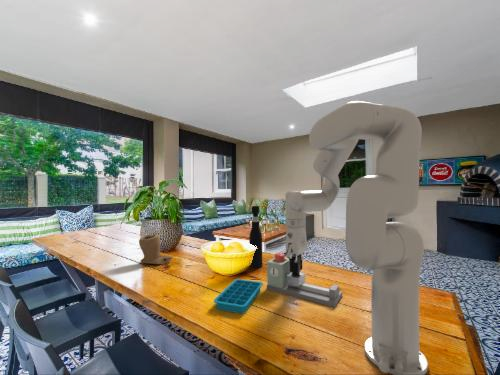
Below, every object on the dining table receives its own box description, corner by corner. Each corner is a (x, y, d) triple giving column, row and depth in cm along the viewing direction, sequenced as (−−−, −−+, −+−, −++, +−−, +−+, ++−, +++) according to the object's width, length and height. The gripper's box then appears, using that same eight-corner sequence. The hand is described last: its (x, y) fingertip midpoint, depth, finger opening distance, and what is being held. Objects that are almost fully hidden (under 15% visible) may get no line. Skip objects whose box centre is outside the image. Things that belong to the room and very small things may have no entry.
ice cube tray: (263, 290, 95) (263, 282, 95) (245, 316, 76) (245, 307, 76) (236, 286, 99) (236, 278, 98) (212, 310, 80) (212, 301, 80)
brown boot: (134, 265, 125) (133, 236, 125) (151, 258, 136) (151, 231, 136) (157, 268, 120) (156, 238, 119) (173, 261, 131) (172, 233, 130)
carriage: (299, 289, 89) (298, 259, 89) (286, 286, 92) (286, 257, 92) (305, 283, 94) (305, 255, 94) (293, 281, 97) (293, 253, 97)
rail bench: (334, 307, 80) (334, 275, 80) (266, 289, 94) (266, 262, 94) (342, 295, 88) (342, 266, 88) (278, 280, 103) (278, 255, 103)
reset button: (282, 272, 94) (282, 256, 94) (273, 270, 96) (272, 255, 96) (286, 269, 97) (286, 254, 97) (277, 267, 100) (277, 252, 100)
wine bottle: (261, 268, 118) (260, 206, 117) (248, 267, 119) (247, 206, 118) (263, 264, 124) (262, 205, 123) (251, 263, 125) (250, 205, 125)
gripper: (295, 227, 84) (296, 280, 84) (312, 221, 97) (313, 266, 98) (276, 225, 88) (277, 275, 88) (295, 219, 102) (295, 263, 102)
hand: (296, 270), depth 93 cm, fingers closed on carriage, 3 cm apart
